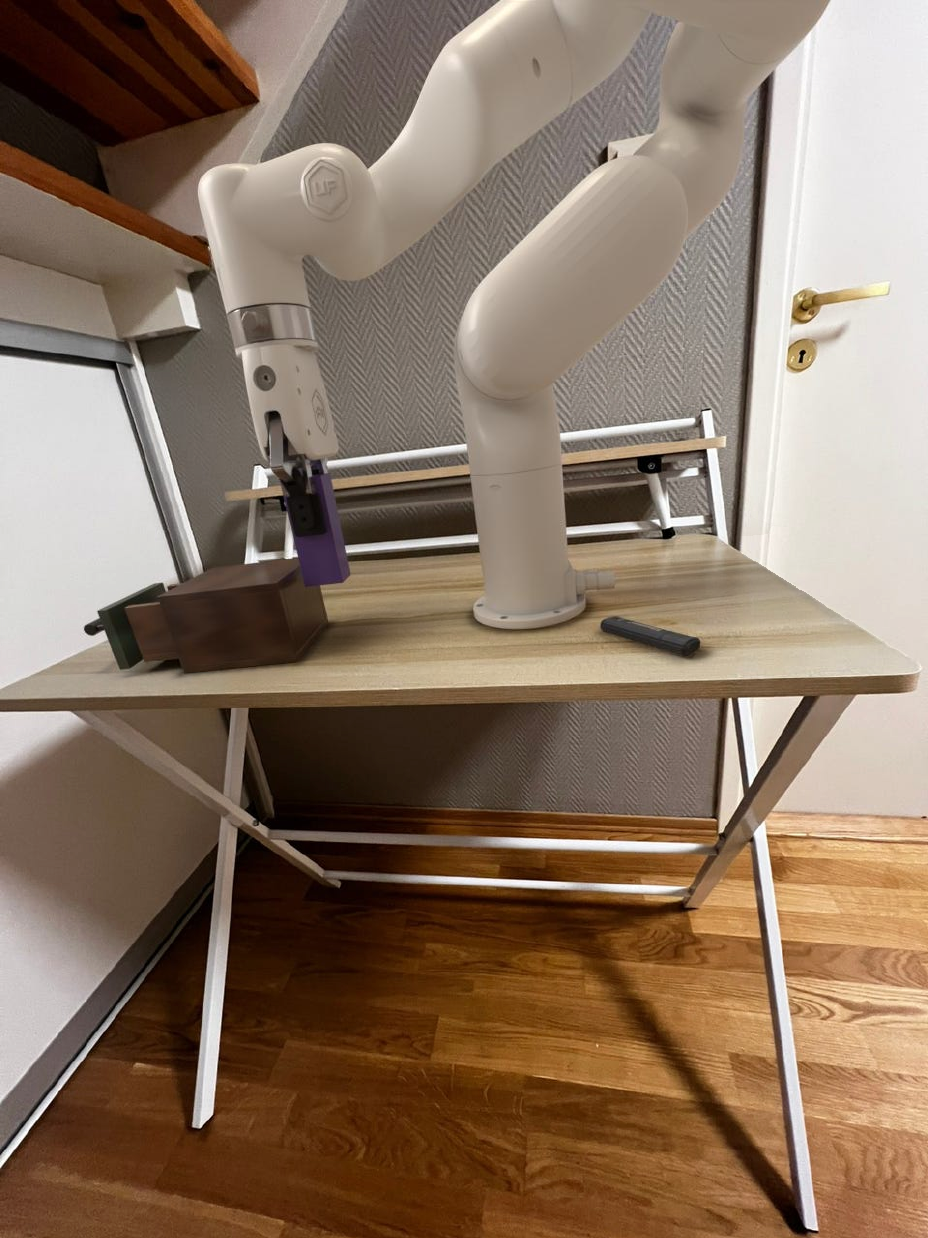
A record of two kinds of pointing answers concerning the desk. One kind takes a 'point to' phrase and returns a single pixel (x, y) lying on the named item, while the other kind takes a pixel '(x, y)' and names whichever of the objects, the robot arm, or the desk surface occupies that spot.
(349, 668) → the desk surface
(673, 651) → the usb stick
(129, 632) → the drawer
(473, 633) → the desk surface
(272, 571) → the cabinet
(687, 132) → the robot arm
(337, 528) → the purple rectangular block
